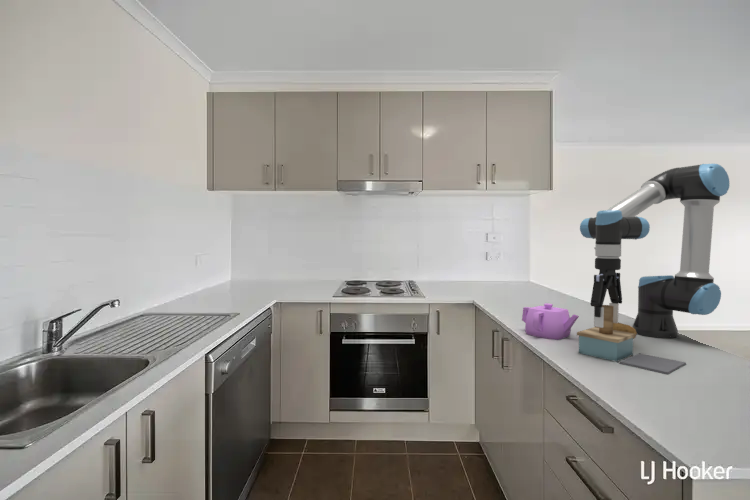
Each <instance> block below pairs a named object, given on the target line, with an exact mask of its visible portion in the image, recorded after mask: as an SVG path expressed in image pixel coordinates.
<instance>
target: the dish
mask: <svg viewBox="0 0 750 500" xmlns="http://www.w3.org/2000/svg"><path fill="white" fill-rule="evenodd" d="M633 351H634V339H633V338H631V339H628V340H625V341H622V342H619V343H615V342H610V341H605V340H600V339H594V338H589V337H584V336H579V335H578V354H582V355H586V356H590V357H595V358H600V359H604V360H608V361H613V362H620V361H622V360H624V359H627V358H629V357H631V356H634V353H633ZM630 355H631V356H630Z"/></svg>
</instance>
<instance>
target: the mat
mask: <svg viewBox="0 0 750 500" xmlns="http://www.w3.org/2000/svg"><path fill="white" fill-rule="evenodd" d="M619 364H620V365H626V366H629V367H633V368H637V367H638V369H643V370H646V369H647V370H646V371H652V372H655V373H659V374H660V373H661V374H664V375H669V374H671V373H674V372H675V371H677V370H679V369H680V368H683V367H684V366H686V365H687V362H686V361H681V360H676V359H672V358H671V359H670V358H665V357H660V356H655V355H650V354H646V353H640V352H639V353H636V354H633V355H631V356H628V357H626V358H624V359H621V360H619Z"/></svg>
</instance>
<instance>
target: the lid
mask: <svg viewBox="0 0 750 500" xmlns="http://www.w3.org/2000/svg"><path fill="white" fill-rule="evenodd" d="M602 307H604V323H603V328H601V327H595V326H593V327H590V328H587V329H584V330H580V331H576V336H578V337H579V336H584V337H589V338H594V339H600V340H605V341H610V342H615V343H619V342H622V341H625V340H628V339H631V338H633V337H635V336H636V337H637V334H634V333H628V332H623V331H617V330H613V309H614V306H611V305H609V304H603V306H602ZM636 337H635V338H636Z"/></svg>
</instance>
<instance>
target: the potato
mask: <svg viewBox="0 0 750 500" xmlns="http://www.w3.org/2000/svg"><path fill="white" fill-rule="evenodd" d="M613 330H617V331H623V332H628V333H634V334H636V336H635V337H633V340H634V339H635V338H636V337H637V335H638V334H637V332H636V330H635V329H634V328H633V326H631V325H629V324H625V323H621V322H620V321H618V323H613Z"/></svg>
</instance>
